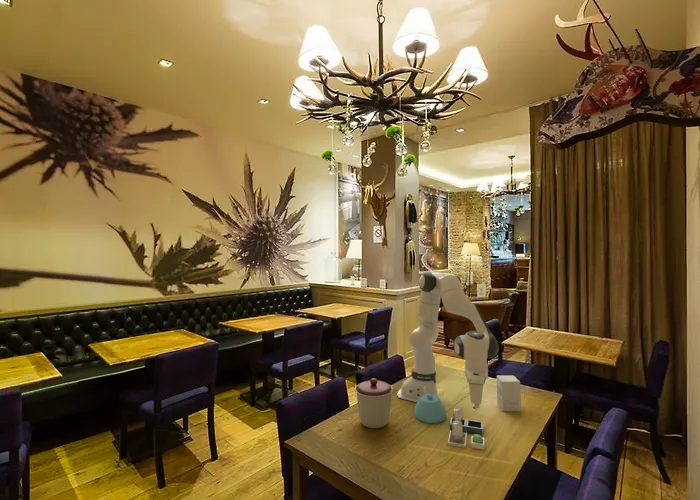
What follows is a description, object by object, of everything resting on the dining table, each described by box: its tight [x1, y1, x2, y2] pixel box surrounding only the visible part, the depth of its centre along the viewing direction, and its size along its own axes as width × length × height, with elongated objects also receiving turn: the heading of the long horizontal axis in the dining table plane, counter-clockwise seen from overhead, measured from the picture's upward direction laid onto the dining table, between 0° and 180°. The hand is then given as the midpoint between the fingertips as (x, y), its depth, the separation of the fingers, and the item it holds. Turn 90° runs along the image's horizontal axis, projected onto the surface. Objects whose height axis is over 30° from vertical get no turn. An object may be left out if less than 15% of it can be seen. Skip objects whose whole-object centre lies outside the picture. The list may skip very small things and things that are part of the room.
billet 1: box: [452, 406, 464, 425], centre depth 159 cm, size 4×4×8 cm
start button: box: [472, 434, 483, 444], centre depth 145 cm, size 3×3×3 cm
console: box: [470, 435, 485, 450], centre depth 145 cm, size 5×6×3 cm
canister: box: [354, 377, 394, 429], centre depth 167 cm, size 18×18×21 cm
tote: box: [447, 429, 468, 449], centre depth 149 cm, size 7×10×2 cm
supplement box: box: [496, 374, 522, 412], centre depth 180 cm, size 9×9×15 cm
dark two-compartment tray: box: [449, 416, 484, 437], centre depth 158 cm, size 14×8×4 cm, turn 69°
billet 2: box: [452, 421, 464, 444], centre depth 149 cm, size 4×4×8 cm
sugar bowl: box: [413, 394, 447, 424], centre depth 170 cm, size 15×15×12 cm
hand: (476, 405), depth 145 cm, fingers closed
